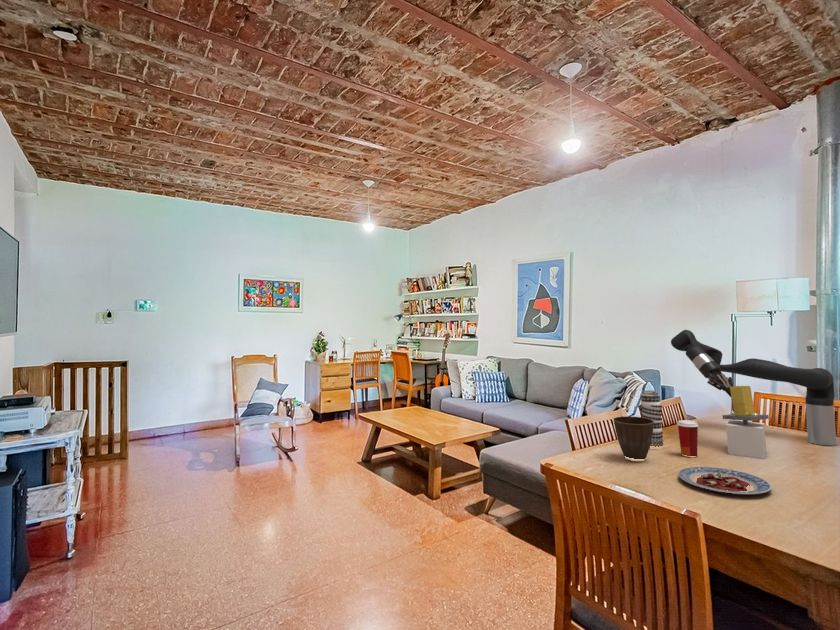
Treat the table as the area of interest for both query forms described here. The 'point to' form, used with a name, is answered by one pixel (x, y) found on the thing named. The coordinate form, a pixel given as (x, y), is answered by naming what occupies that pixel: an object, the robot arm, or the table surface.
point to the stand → (746, 438)
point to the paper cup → (688, 437)
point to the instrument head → (743, 405)
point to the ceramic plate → (724, 480)
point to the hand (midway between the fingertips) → (734, 396)
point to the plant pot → (634, 435)
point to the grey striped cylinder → (652, 414)
